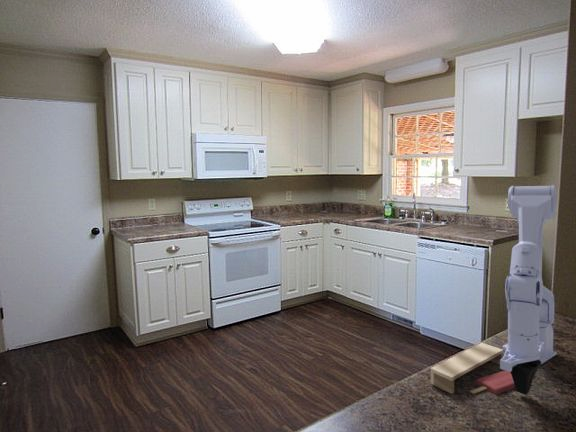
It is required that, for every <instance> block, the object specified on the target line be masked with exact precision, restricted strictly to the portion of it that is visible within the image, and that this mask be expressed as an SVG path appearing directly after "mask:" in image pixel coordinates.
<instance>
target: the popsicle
mask: <svg viewBox="0 0 576 432" xmlns="http://www.w3.org/2000/svg"><path fill="white" fill-rule="evenodd" d="M475 382H476V385H478V387H477V388H474V389H471V390H470V391H469V392H470V394H473V395H475V394H478V393H481V392H484V391H488V392H490V393H491V394H493V395H499V394H502V393H505V392H507V391H510V390H512V389H516V388H515V385H514V381H513V378H512V375H511V372H508V371H505V370H501V371H498V372H495V373H492V374H488V375H485V376H482V377H480V378H476V379H475Z"/></svg>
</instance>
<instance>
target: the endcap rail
mask: <svg viewBox="0 0 576 432" xmlns="http://www.w3.org/2000/svg"><path fill="white" fill-rule="evenodd" d="M503 356H504V349H502V348H499V347H497V346H493V345H490V344H487V343H484V342H480V343H478V344H476V345H475V346H472V347H470V348H469V349H466V350H464V351H463V352H461V353H459V354H455V355H454V356H452V357H450V358H449V359H446V360H444V361H441V362H440V363H438V364H436V365H434V366H432V367H430V384H431V385H433V386H434V387H436V388H439V389H441V390H442V391H445V392H448V393H449V394H451V395H453V394H454V393H455V380H456V379H458V378H460V377H462V376H464V375H466V374H467V373H469V372H470V371H473V370H475V369H477V368H478V367H480V366H482V365H484V364H485V363H488V362H491V363H493V364H496V365H499V366H500V360H501V359H502V358H503Z"/></svg>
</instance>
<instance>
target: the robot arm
mask: <svg viewBox="0 0 576 432" xmlns="http://www.w3.org/2000/svg"><path fill="white" fill-rule="evenodd" d="M557 190H558V188H557V187H556V186H555V184H552V185H534V186H533V185H532V186H531V185H527V186H526V185H525V186H524V185H523V186H522V185H521V186H520V185H519V186H515V185H511V186H510V187H509V188H508V191H507V192H508V193H507V206H508V207H507V209H509V213H510V214H511V217H512V218H515V219H516V220H518V243H517V244H515V245H513V247H512V249H511V256H510V257H511V258H510V266H509V275H507V276H506V277H505V278H506V279H505V285H504V286H505V287H504V290H505V291H504V293H505V301H506V310H507V343H506V344H504V345H502V346H501V347H502V348H501V349H502V350H503V351H505V352H504V353H503V358H502V359H501V360H500V365H499V369H500V370H502V371H508V372H511V375H512V378H513V381H514V385H515V388H514V389H515V391H516V392H518V393H521V394H523V395H525V396H526V395H528V394H529V393H530V390H531V387H532V384H533V380H534V378H535V376H536V373H537V371H538V369H540V367H541V366H542V364H544V363H546V362H547V361H549V360H550V359H552V358H553V357H555V356H557V354H558V353H557V351H554V327H553V326H552V324H553V323H554V322H555V295H554V293H553V292H552V291H551V290H550V289H549V288H547V287H546V286H545V285H544V282H543V276H542V275H543V237H544V234H543V232H544V226H545V223H546V222H547V221H548V220H551V219H555V215H556V213H557V212H556V211H557V201H558V200H557V199H558V198H557V197H558V196H557V192H558V191H557Z"/></svg>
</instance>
